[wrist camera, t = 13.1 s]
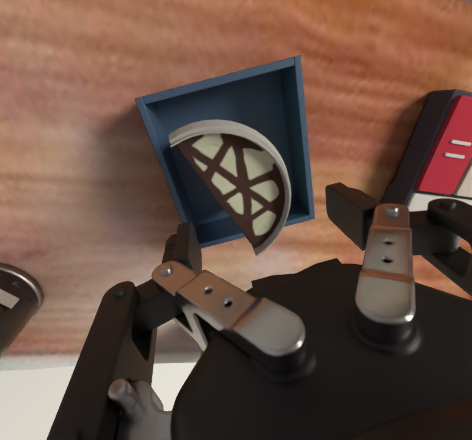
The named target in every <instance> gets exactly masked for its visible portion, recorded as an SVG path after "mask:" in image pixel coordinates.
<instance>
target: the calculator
mask: <svg viewBox="0 0 472 440" xmlns="http://www.w3.org/2000/svg"><path fill="white" fill-rule="evenodd" d="M439 198H451V199H457V200H460V201H463V202H465V203H467V204H469V205H472V92H467V91H463V90H457V89H455V90H440V91H433V92H431V93H430V95H429V97H428V99H427V102H426V104H425V107H424V109H423V112H422V114H421V116H420V119H419V121H418V124H417V126H416V129H415V131H414V133H413V136H412V138H411V141H410V143H409V146H408V148H407V150H406V153H405V155H404V158H403V160H402V163H401V165H400V167H399V170H398V172H397V175H396V177H395V179H394V182H393V183H392V184H391V185H389V186H388V188H387V190H386V192H385V195H384V197H383V200H382V202H381V203H382V204H386V203H395V204H401V205H404V206H406V207H407V208H408V209H409V212H410V211H423V210H427V206H428V203H429V202H430V201H431V200H434V199H439Z"/></svg>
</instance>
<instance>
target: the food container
mask: <svg viewBox="0 0 472 440" xmlns="http://www.w3.org/2000/svg"><path fill="white" fill-rule="evenodd" d="M169 142H170V143H171V147H173V146H174V145H176V147H177V148H178V149H179V151H180V152H181V154H182V155H183V156H184V157H185V158H186V160H187V161H188V162H189V163H190V165H191V166H192V167H193V169H194V170H195V171H196V173H197V174H198V175H199V176H200V178H201V179H202V180H203V182H204V183H205V184H206V186H207V187H208V188H209V190H210V191H211V193H212V194H213V195H214V197H215V198H216V199H217V201H218V202H219V204H220V205H221V206H222V207H223V209H224V210H225V211H226V212H227V213H228V215H229V216H230V217H231V218H232V220H233V221H234V222H235V224H236V225H237V226H238V227H239V229H240V230H241V231H242V233H243V234H244V235H245V236H246V238H247V239H248V240H249V242H250V243H251V244H252V246H253V249H254V252H255V254H256V256H258V255H259V254H261V253H262V252H264V251H265V250H266V249H267V248H268V247H269V246H270V245H271V244H272V243H273V242H274V241H275V240H276V238H277V237H278V236H279V234H280V232H281V231H282V229H283V227H284V225H285V222H286V220H287V217H288V213H289V209H290V204H291V185H290V181H289V177H288V173H287V169H286V166H285V164H284V162H283V159H282V157H281V155H280V154H279V152H278V151H277V150H276V148H275V147H274V145H273V144H272V143H271V142H270V141H269V140H268V139H267V138H266V137H264V136H263V135H261V134H260V133H259V132H257V131H256V130H254V129H252V128H250V127H248V126H246V125H243V124H240V123H237V122H233V121H227V120H219V119H218V120H203V121H199V122H194V123H191V124H188V125H186V126H183V127H181V128H179V129H177V130H175V131H174V132H172V133H170V134H169Z"/></svg>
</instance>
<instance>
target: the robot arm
mask: <svg viewBox="0 0 472 440" xmlns="http://www.w3.org/2000/svg"><path fill="white" fill-rule="evenodd" d="M326 208H327V214H328V217H329V219H330V220H331V221H332V222H333V223H334V224H335V225H336V226H337V227H338V228H339V229H340V230H341V231H342V232H343V233H345V234H346V235H347V236H348V237H349V238H350V239H351V240H352V241H353V242H354V243H355V244H356V245H357V246H358V247H359V248H360V249H361V250H362V251H363V250H365V255H364V260H363V265H358V264H341V263H340V261H339V260H338V259H337V258H336V259H332V260H328V261H325V262H321V263H317V264H315V265H313V266H310V267H308V268H306V269H304V270H302V271H300V272H298V273H295V274H285V275H273V276H269V277H265V278H261V279H258V280H254V281H251V282H252V286H253V288H251V289H249V290H247V291H246V292H245V291H243V290H241V289H239V288H238V287H236V286H234V285H232V284H231V283H229V282H227V281H225V280H223V279H222V278H220V277H218V276H216V275H214V274H213V273H211V272H209V271H207V270H203V271H202V254H201V248H200V244H199V242H198V239H197V236H196V233H195V230H194V227H193V225H192V223H191V221H190V222H187V223H183V224H179V225H178V228H177V234H173V235H171V236H170V237H169V239H168V240H167V242H166V247H165V252H164V255H163V260H162V264H161V265H159V266H158V267H156V268H155V269H154V271H153V272H152V279H151V280H149V281H147V282H145V283H143V284H141V285H139V286H137V287H135V285H134V283H133V282H130V281H126V282H121V283H119V284H117V285H115V286H113V287H112V288H110V289H109V290H108V291H107V292H106V293H105V295H104V296H103V298H102V301H101V303H100V306H99V309H98V311H97V314H96V316H95V319H94V321H93V324H92V326H91V329H90V331H89V334H88V336H87V339H86V341H85V344H84V346H83V349H82V351H81V354H80V356H79V359H78V362H77V364H76V367H75V369H74V372H73V374H72V377H71V379H70V382H69V385H68V387H67V389H66V392H65V394H64V397H63V400H62V402H61V404H60V407H59V410H58V412H57V415H56V417H55V420H54V422H53V425H52V427H51V430H50V432H49V435H48V437H47V440H472V301H471V300H468V299H465V298H462V297H459V296H456V295H453V294H449V293H446V292H443V291H440V290H437V289H434V288H431V287H428V286H425V285H422V284H419V283H416V282H415V281H414V279H413V258H412V255H422V256H423V257H424V258H425V259H426V260H427V261H429V262H430V263H431V264H432V265H433V266H435V267H436V268H437V269H438V270H440V271H441V272H442V273H443V274H445V275H446V276H447V277H448V278H450V279H451V280H452V281H453V282H454V283H456V284H457V285H458V286H459V287H461V288H462V289H463V290H464V291H466V292H467V293H468V294H469V295H471V296H472V254H470V253H469V252H467V251H466V250H464V249H462V248H461V247H459V244H460V239H461V238H463V239H464V240H466V241H467V242H468V243H469V244H470V246H471V248H472V205H469V204H467V203H465V202H463V201H460V200H457V199H451V198H439V199H434V200H431V201H430V202H429V203H428V206H427V210H423V211H410V212H409V209H408V208H407V207H406V206H404V205H401V204H395V203H386V204H382V203H380V202H379V201H377V200H375V199H374V198H372V197H370V196H369V195H367V194H365V193H364V192H362V191H360V190H358V189H354V188H349V187H347V186H345V185H344V184H342V183H340V182H339V183H335V184H331V185H327V186H326ZM43 299H44V297H43V291H42V289H41V287H40V285H39V284H38V283H37V281H36V280H35V279H34V278H33V277H31V276H30V275H29V274H27V273H26V272H24V271H22V270H20V269H18V268H16V267H13V266H10V265H7V264H2V263H0V359H1V357H2V356H3V355H4V353H5V352H6V351H7V349H8V348H9V347H10V345H11V344H12V343H13V341H14V340H15V339H16V337H17V336H18V335H19V333H20V332H21V331H22V329H23V328H24V327H25V325H26V324H27V323H28V321H29V320H30V319H31V317H32V316H33V315H35V313H36V312H37V311H38V309H39V308H40V307H41V305H42V303H43ZM171 319H173V320H174V321H175V322H176V323H177V324H178V325H179V326H180V327H182V328H183V329H184V330H185V331H186V332H187V333H188V334H189V335H190V336H191V337H192V338H193V339H194V340H195V341H196V342H197V343H198V345H199V346H200V348H201V349H202V350H203V354H202V355H201V357H200V358H199V360H198V362H197V363H196V365H195V366H194V368H193V370H192V371H191V373H190V375H189V376H188V378H187V379H186V381H185V383H184V384H183V386H182V388H181V389H180V391H179V393H178V395H177V397H176V400H175V403H174V406H173V409H172V411H164V410H163V404H162V402H161V400H160V399H159V397H158V396H157V394H156V393H155V392H154V390H153V389H152V387H151V383H152V373H153V364H154V355H155V345H156V336H157V327H158V326H160V325H162V324H164V323H166V322H168V321H169V320H171Z"/></svg>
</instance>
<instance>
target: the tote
mask: <svg viewBox="0 0 472 440" xmlns="http://www.w3.org/2000/svg"><path fill="white" fill-rule="evenodd" d="M135 101H136V104H137V106H138V109H139V112H140V114H141V117H142V119H143V122H144V125H145V127H146V130H147V132H148V135H149V138H150V140H151V143H152V146H153V148H154V151H155V153H156V156H157V159H158V161H159V164H160V166H161V169H162V172H163V174H164V177H165V180H166V182H167V185H168V187H169V190H170V193H171V195H172V198H173V200H174V203H175V206H176V208H177V211H178V214H179V216H180V219H181V221H182V224H183V223H187V222H190V221H191V223H192V225H193V227H194V230H195V233H196V236H197V239H198V242H199V244H200V248H205V247H209V246H212V245H216V244H220V243H224V242H228V241H231V240H235V239H239V238H243V237H246V236H245V235H244V234H243V233H242V231H241V230H240V229H239V227H238V226H237V225H236V224H235V222H234V221H233V220H232V218H231V217H230V216H229V215H228V213H227V212H226V211H225V210H224V209H223V207H222V206H221V205H220V204H219V202H218V201H217V199H216V198H215V197H214V195H213V194H212V193H211V191H210V190H209V188H208V187H207V186H206V184H205V183H204V182H203V180H202V179H201V178H200V176H199V175H198V174H197V173H196V171H195V170H194V169H193V167H192V166H191V165H190V163H189V162H188V161H187V160H186V158H185V157H184V156H183V155H182V154H181V152H180V151H179V149H178V148H177V147H176V145H174V146H173V147H171V143H170V142H169V134H170V133H172V132H174V131H175V130H177V129H179V128H181V127H183V126H186V125H188V124H191V123H194V122H199V121H203V120H218V119H219V120H227V121H233V122H237V123H240V124H243V125H246V126H248V127H250V128H252V129H254V130H256V131H257V132H259V133H260V134H261V135H263V136H264V137H266V138H267V139H268V140H269V141H270V142H271V143H272V144H273V145H274V147H275V148H276V150H277V151H278V152H279V154H280V155H281V157H282V159H283V162H284V164H285V166H286V169H287V173H288V177H289V181H290V185H291V204H290V209H289V213H288V217H287V220H286V222H285V225H284V227H285V226H289V225H292V224H296V223H300V222H304V221H308V220H311V219H315V212H314V200H313V189H312V177H311V166H310V154H309V143H308V131H307V120H306V109H305V97H304V86H303V74H302V63H301V55H299V56H295V57H292V58H288V59H284V60H280V61H276V62H272V63H269V64H265V65H261V66H257V67H253V68H250V69H246V70H242V71H238V72H234V73H230V74H227V75H223V76H219V77H215V78H211V79H207V80H204V81H200V82H196V83H192V84H188V85H184V86H181V87H177V88H173V89H169V90H165V91H161V92H158V93H154V94H150V95H146V96H143V97H139V98H135Z"/></svg>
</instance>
